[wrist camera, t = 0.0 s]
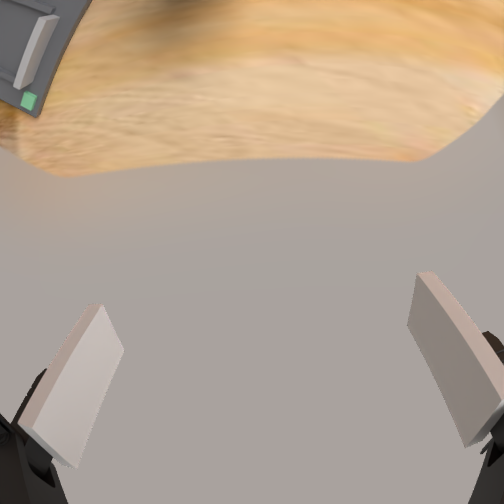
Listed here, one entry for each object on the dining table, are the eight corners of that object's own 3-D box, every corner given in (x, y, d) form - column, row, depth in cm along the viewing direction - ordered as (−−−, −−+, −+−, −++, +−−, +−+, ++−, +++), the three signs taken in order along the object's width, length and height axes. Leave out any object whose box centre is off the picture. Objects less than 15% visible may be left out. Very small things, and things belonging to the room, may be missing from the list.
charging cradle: (-5, -42, 11) (-26, -40, 8) (98, -11, 20) (81, -11, 17) (-45, 70, 20) (-63, 81, 18) (40, 114, 30) (23, 127, 27)
